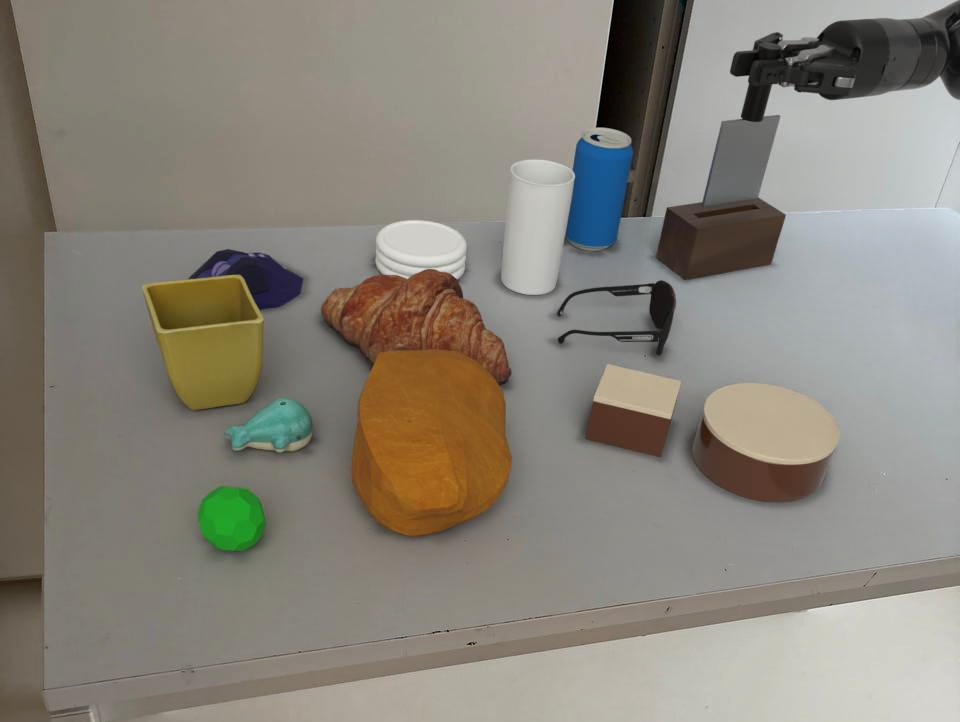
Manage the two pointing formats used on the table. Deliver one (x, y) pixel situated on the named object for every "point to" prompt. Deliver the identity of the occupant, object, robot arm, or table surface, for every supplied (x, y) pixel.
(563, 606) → the table surface
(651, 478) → the table surface
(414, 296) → the pastry
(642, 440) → the cake slice
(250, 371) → the flower pot
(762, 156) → the knife
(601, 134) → the beverage can
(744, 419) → the cake
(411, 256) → the coaster
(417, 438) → the bread
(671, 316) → the sunglasses
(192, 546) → the table surface
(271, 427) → the whale figurine
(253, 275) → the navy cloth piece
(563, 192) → the mug
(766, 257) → the knife block
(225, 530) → the polyhedron
